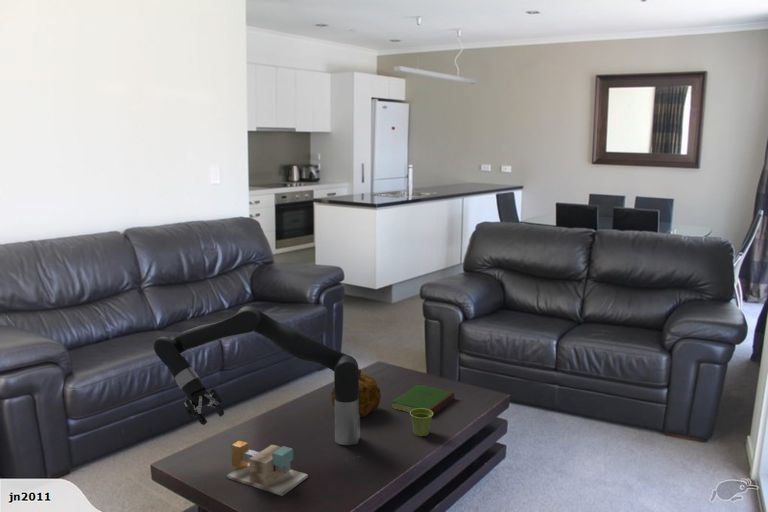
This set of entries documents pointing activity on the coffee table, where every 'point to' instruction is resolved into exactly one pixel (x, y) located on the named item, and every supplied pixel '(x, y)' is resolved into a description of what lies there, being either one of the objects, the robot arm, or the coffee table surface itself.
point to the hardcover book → (423, 399)
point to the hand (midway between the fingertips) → (214, 419)
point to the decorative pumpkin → (365, 394)
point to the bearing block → (263, 466)
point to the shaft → (243, 454)
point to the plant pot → (421, 421)
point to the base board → (277, 486)
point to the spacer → (282, 456)
